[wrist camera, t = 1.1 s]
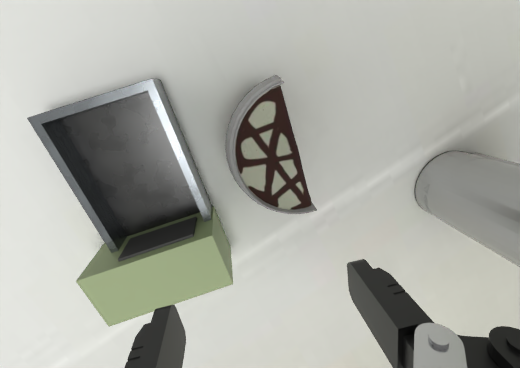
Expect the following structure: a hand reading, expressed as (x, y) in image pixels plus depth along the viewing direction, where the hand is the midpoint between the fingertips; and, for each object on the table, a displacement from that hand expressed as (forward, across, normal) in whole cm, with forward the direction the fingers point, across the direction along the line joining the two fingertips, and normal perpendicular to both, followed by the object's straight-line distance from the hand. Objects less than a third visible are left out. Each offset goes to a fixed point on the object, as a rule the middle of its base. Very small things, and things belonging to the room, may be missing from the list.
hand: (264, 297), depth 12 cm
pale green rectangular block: (+21, +11, +8) cm, 25 cm away
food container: (+21, -2, -3) cm, 21 cm away
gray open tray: (+21, +11, -2) cm, 24 cm away
